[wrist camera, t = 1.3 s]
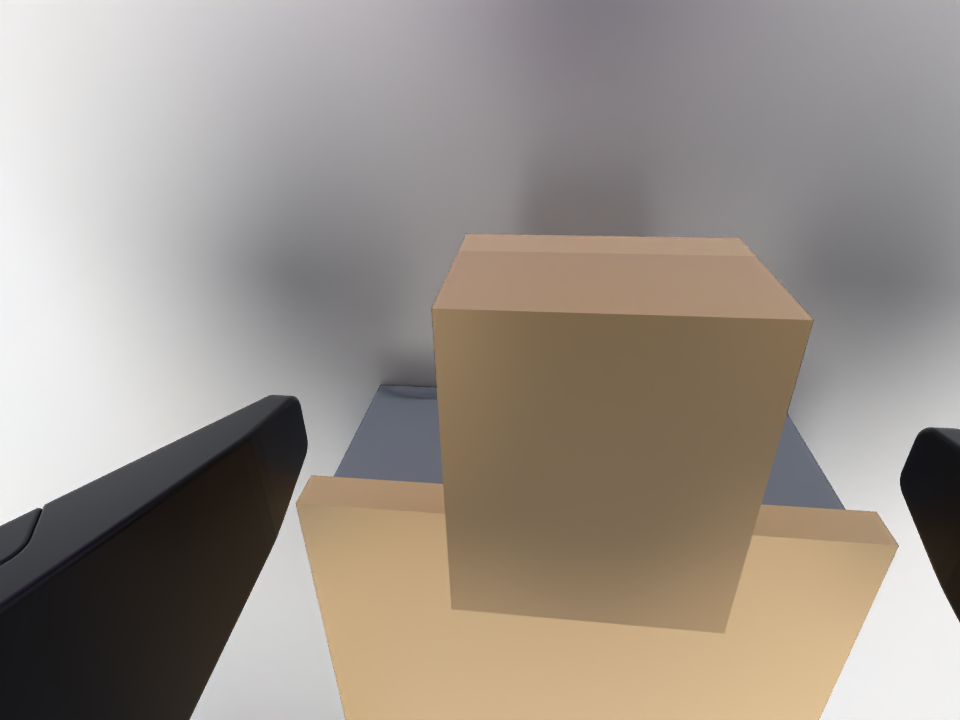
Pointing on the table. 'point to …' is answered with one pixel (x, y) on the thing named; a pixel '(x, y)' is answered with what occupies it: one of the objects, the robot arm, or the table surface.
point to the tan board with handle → (597, 503)
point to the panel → (417, 458)
